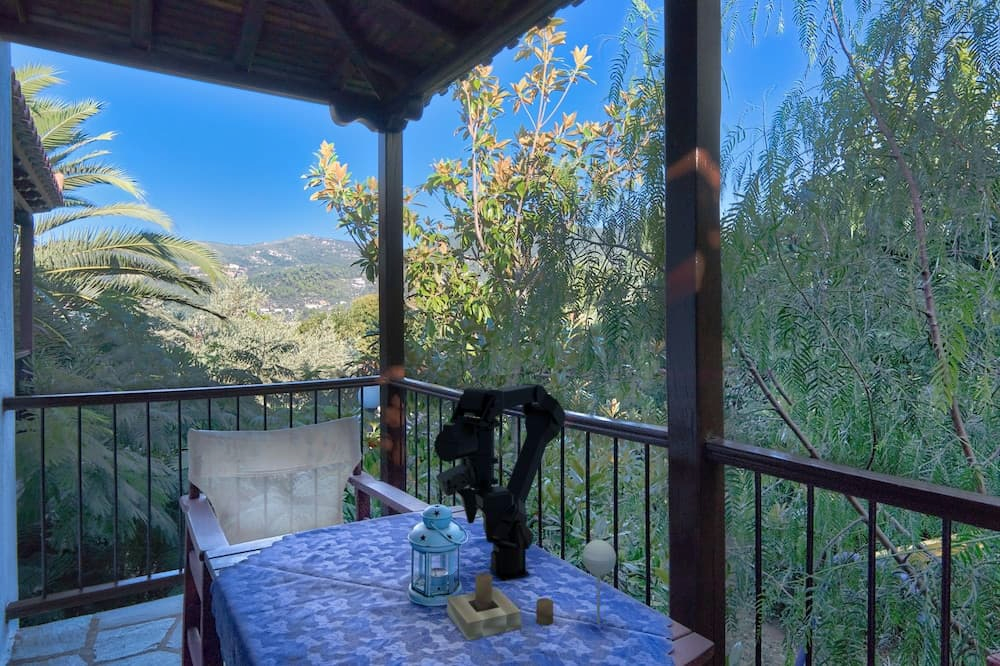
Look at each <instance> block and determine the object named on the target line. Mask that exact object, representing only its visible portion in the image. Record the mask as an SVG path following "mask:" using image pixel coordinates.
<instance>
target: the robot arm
mask: <svg viewBox="0 0 1000 666" xmlns="http://www.w3.org/2000/svg"><path fill="white" fill-rule="evenodd" d="M519 406H521V409H520V410H521V412H522V414H523V415H524V417H525V419H524V423H523V424H524V427H525V431H526V436H525V438H524V441H523V444H522V447H521V449H520V452H519V454H518V457H517V459H516V462H515V464H514V467H513V470H512V472H511V474H510V476H509V480H508V482H507V485H506V487H504V486H502V485H498V484H499V478H497V477H496V476H495V465H497V464H499V458H498V457H496V456H495V428H498V427H501V425H502V423H501V422H500V421H499V420H498V419H497V418H496V417H498V416H500V415H502V414H503V413H504V410H506V409H510V408H515V407H519ZM565 421H566V413H565V410H564V409H563V408H562V405H561V403H560V402H559V400H557V399H556V398H555V397H553V396H552V395H551V394H550V393H549V392H547V390H546V388H545V386H543V385H541V384H539V383H527V382H526V383H522V384H520V385H519V384H518V385H514V386H508V387H502V388H498V389H497V388H496V389H489V388H481V387H480V388H479V387H472V386H471V387H466V388H465V389H464V390H463V393H461V395H460V397H459V399H458V402H457V404H456V406H455V409H454V411H453V412H452V414H451V417H450V420H449V423H448V422H447V423H444V424H442V430H441V431H440V432H439V433H437V435H436V437H435V440H434V442H433V443H434V444H433V446H434V447H433V448H434V451H435V453H436V456H437V457H438V458H439V459H440V460H441V461H443V462H444V463H445V462H446V463H449V462H453V461H457V460H459V462H460V463H459V464H458V465H454V466H453V467H449V468H448V469H446V470H444V471H442V472H440V473H438V474H437V475H436V476H435V477H436V481H437V484H438V487H439V489H440V492H442V493H444V494H445V496H448V497H449V496H452V495H454V494H455V493H457V494H458V495H459V496H460V498H461V501H462V506H463V509H464V513H465V516H466V520H467V523H468V524H473V523H475V519H476V516H477V512H478V510H480V511H481V513H482V518H483V522H482V523H483V524H482V526H483V531H484V534H485V538H486V542H487V543H490V544H492V547H493V548H492V551H490V566H489V570H490V571H491V572H492V573H493V574H494V576H497V578H499V580H501V581H506V580H511V579H517V578H521V577H522V578H523V577H526V576H527V577H528V576H529V575H530V571H528V570H527V569H526V567H527V565H526V557H527V556H526V555H527V554H526V553H527V552H526V551H527V550H529V549H530V546H532V545H533V541H534V540H533V539H534V533H533V532H532V531H531V529H530V528H529V527H528V526H527V522H528V512H527V508H526V503H527V499H528V497H529V495H530V491H531V488H532V486H533V483H534V480H535V478H536V475H537V472H538V469H539V467H540V464H541V462H542V459H543V456H544V453H545V451H546V448H547V445H548V444H549V443H550V442H551V441H553V440H554V439H555V438H556V437H557V436H559V434H560V431H561V430H562V428H563V425H564V424H565ZM494 485H496V486H494Z"/></svg>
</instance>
